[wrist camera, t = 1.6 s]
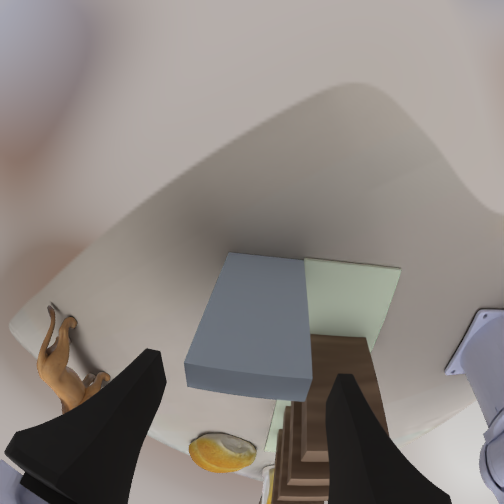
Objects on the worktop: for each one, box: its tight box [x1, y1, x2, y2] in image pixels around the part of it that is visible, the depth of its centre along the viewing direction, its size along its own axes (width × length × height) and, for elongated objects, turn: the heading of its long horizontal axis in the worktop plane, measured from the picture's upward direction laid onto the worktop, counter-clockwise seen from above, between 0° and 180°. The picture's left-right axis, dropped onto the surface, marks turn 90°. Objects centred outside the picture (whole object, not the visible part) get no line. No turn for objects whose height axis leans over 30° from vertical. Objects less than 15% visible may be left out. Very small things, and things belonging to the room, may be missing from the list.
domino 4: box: [271, 429, 324, 504], centre depth 24 cm, size 2×5×10 cm, turn 86°
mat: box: [264, 258, 402, 452], centre depth 25 cm, size 7×28×1 cm, turn 176°
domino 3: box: [277, 406, 329, 501], centre depth 22 cm, size 2×5×10 cm, turn 86°
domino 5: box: [301, 334, 389, 462], centre depth 17 cm, size 2×5×10 cm, turn 86°
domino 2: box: [287, 401, 330, 486], centre depth 19 cm, size 2×5×10 cm, turn 86°
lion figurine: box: [37, 306, 110, 414], centre depth 23 cm, size 15×5×9 cm, turn 18°
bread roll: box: [189, 433, 256, 473], centre depth 31 cm, size 8×9×4 cm
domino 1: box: [184, 252, 313, 402], centre depth 15 cm, size 2×5×10 cm, turn 86°
